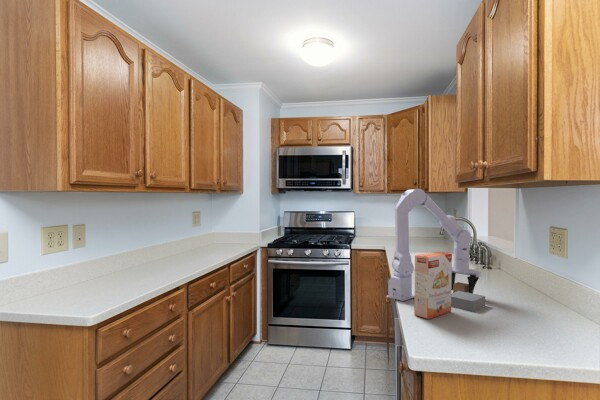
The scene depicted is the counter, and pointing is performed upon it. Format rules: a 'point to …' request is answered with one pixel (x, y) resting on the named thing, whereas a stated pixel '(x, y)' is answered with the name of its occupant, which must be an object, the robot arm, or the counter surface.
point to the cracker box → (433, 284)
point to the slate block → (467, 301)
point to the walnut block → (461, 287)
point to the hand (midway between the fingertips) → (461, 291)
